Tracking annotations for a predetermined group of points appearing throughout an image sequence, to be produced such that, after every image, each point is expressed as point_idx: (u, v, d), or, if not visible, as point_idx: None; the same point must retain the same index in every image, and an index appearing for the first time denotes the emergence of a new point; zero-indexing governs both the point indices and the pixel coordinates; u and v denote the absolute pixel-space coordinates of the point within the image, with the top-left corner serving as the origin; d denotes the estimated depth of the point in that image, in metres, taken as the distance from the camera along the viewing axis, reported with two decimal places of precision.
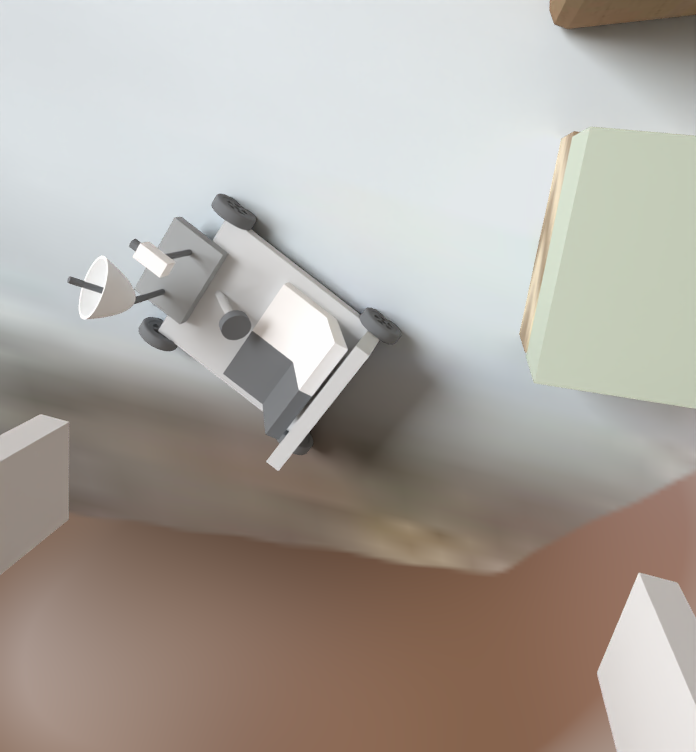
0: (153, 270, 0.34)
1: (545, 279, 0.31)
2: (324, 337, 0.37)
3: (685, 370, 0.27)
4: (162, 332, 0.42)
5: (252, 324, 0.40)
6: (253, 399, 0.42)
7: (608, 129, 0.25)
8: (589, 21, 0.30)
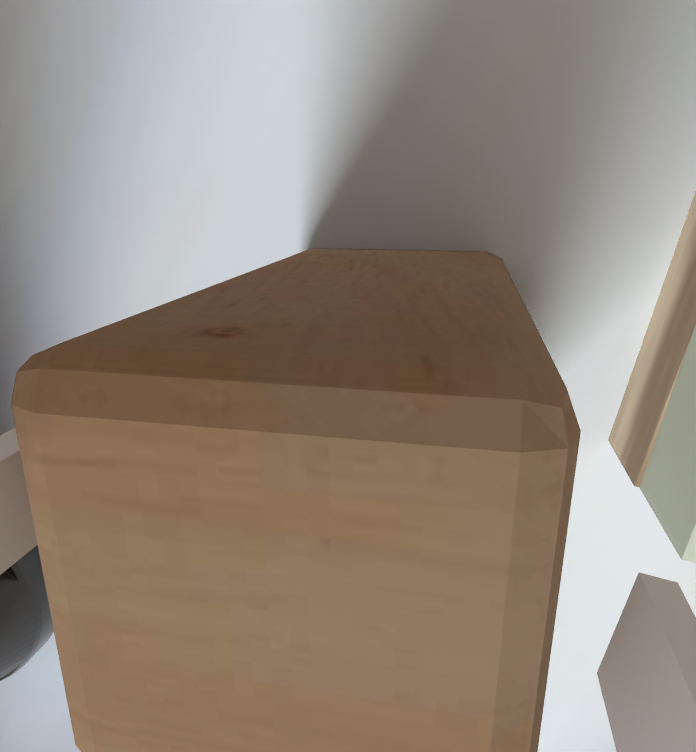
0: None
1: None
2: None
3: None
4: None
5: None
6: None
7: (690, 539, 0.19)
8: None
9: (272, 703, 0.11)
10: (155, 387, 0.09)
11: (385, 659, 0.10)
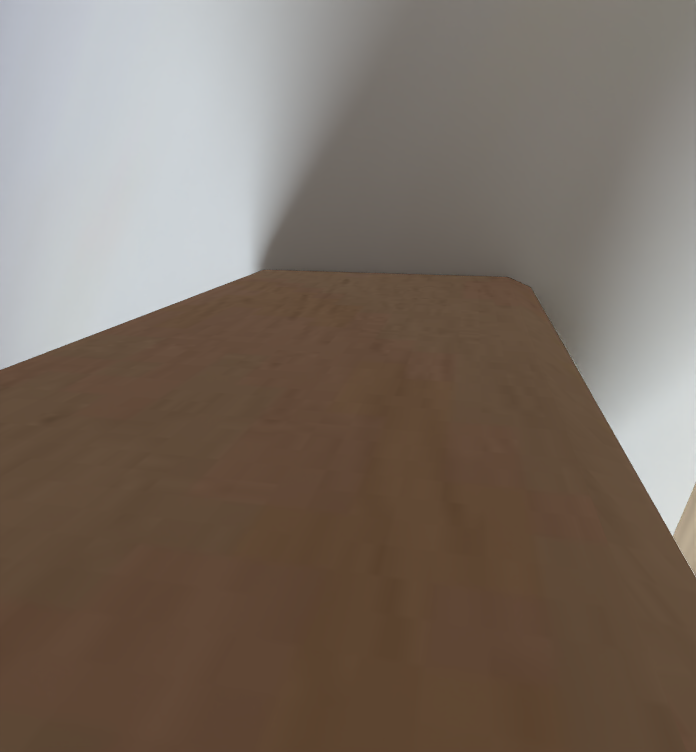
0: None
1: None
2: None
3: None
4: None
5: None
6: None
7: None
8: None
9: None
10: None
11: None
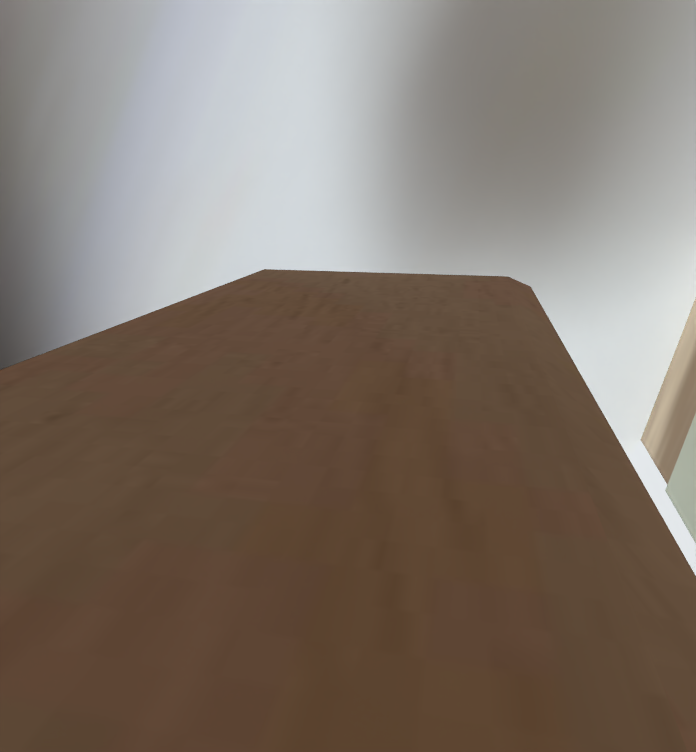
0: None
1: None
2: None
3: None
4: None
5: None
6: None
7: None
8: None
9: None
10: None
11: None
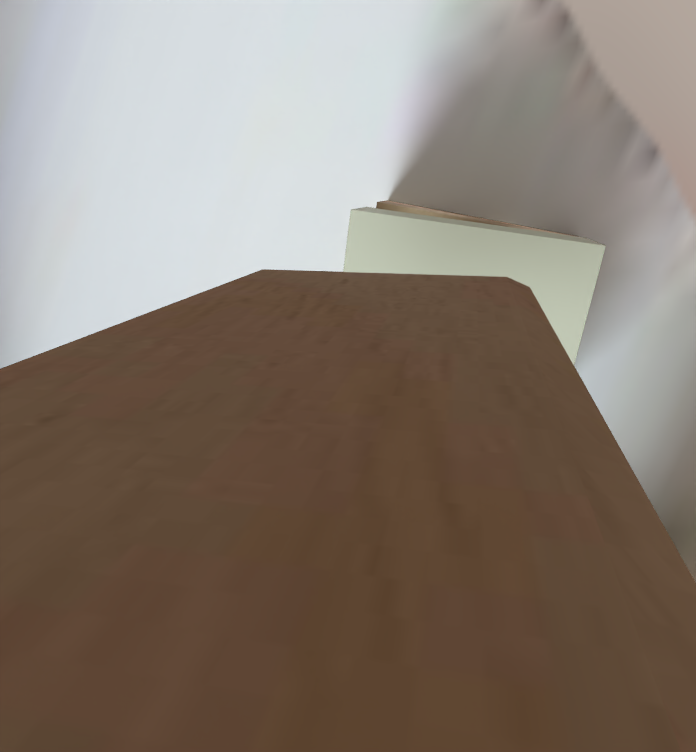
0: None
1: None
2: None
3: None
4: None
5: None
6: None
7: None
8: None
9: None
10: None
11: None
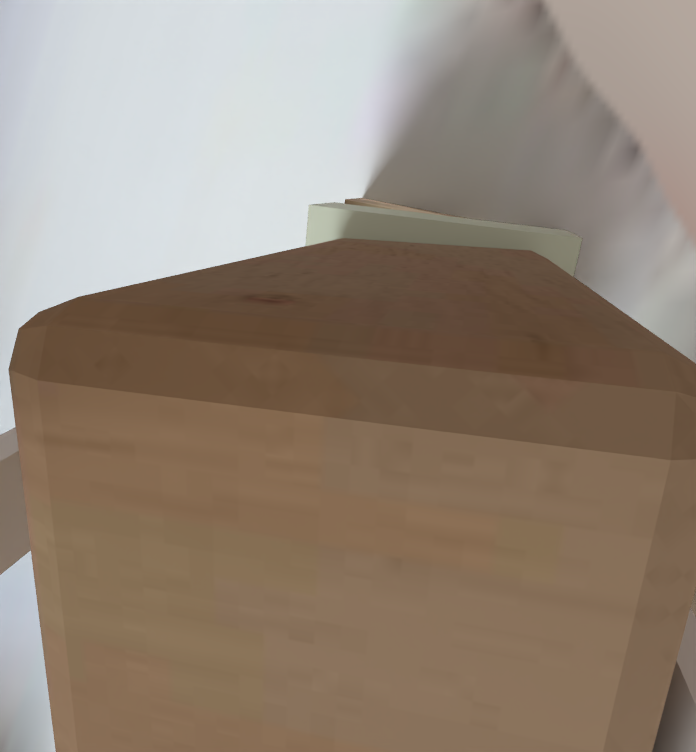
0: None
1: None
2: None
3: None
4: None
5: None
6: None
7: None
8: None
9: None
10: (191, 354, 0.08)
11: (458, 714, 0.08)
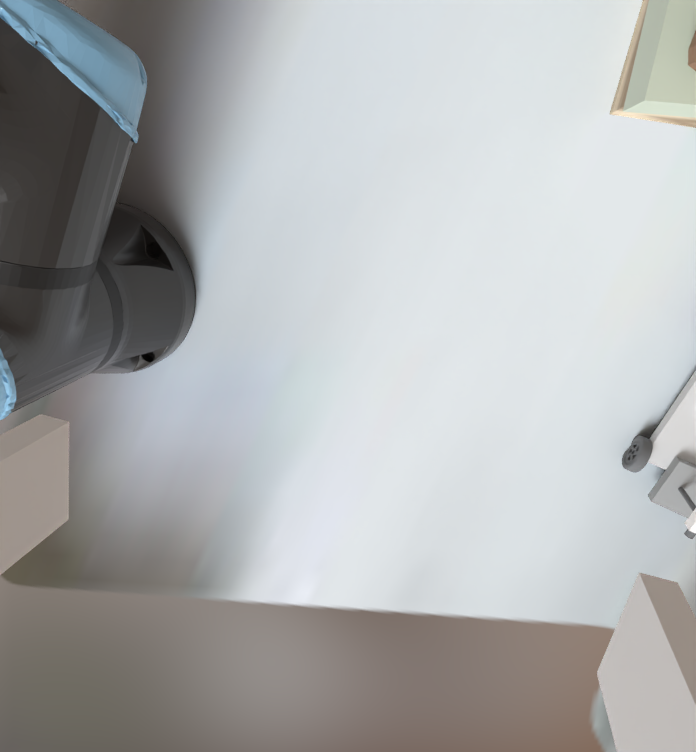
0: None
1: None
2: None
3: None
4: None
5: None
6: None
7: (649, 85, 0.32)
8: None
9: None
10: None
11: None
